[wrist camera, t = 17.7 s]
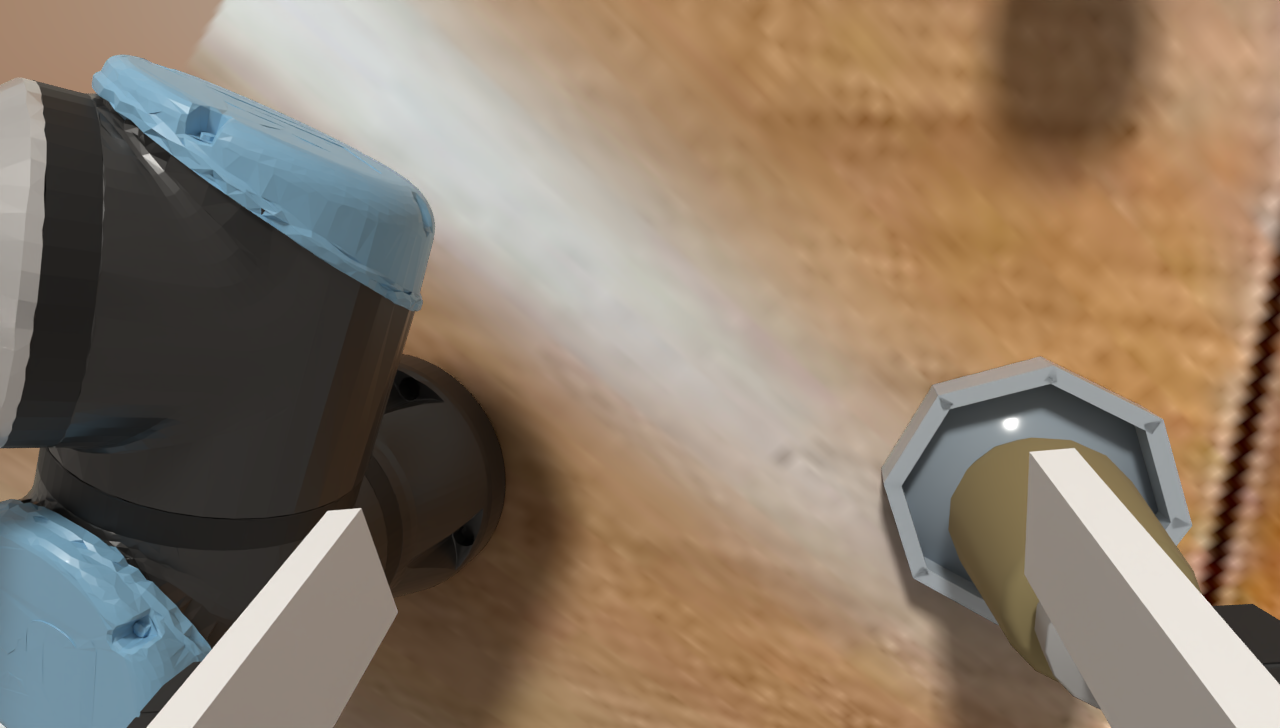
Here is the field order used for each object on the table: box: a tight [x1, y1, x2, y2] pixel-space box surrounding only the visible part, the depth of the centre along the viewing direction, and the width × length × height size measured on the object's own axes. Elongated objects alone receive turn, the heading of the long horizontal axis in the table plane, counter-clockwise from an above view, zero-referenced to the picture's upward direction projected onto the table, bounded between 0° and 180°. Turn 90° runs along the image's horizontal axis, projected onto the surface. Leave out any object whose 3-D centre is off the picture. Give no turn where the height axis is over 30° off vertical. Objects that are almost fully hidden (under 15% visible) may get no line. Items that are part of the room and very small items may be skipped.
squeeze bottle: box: [948, 438, 1201, 710], centre depth 29 cm, size 8×8×18 cm
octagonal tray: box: [881, 356, 1192, 625], centre depth 38 cm, size 13×13×2 cm
